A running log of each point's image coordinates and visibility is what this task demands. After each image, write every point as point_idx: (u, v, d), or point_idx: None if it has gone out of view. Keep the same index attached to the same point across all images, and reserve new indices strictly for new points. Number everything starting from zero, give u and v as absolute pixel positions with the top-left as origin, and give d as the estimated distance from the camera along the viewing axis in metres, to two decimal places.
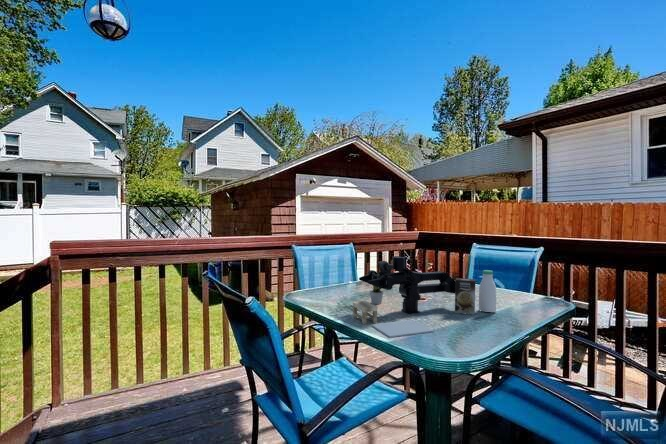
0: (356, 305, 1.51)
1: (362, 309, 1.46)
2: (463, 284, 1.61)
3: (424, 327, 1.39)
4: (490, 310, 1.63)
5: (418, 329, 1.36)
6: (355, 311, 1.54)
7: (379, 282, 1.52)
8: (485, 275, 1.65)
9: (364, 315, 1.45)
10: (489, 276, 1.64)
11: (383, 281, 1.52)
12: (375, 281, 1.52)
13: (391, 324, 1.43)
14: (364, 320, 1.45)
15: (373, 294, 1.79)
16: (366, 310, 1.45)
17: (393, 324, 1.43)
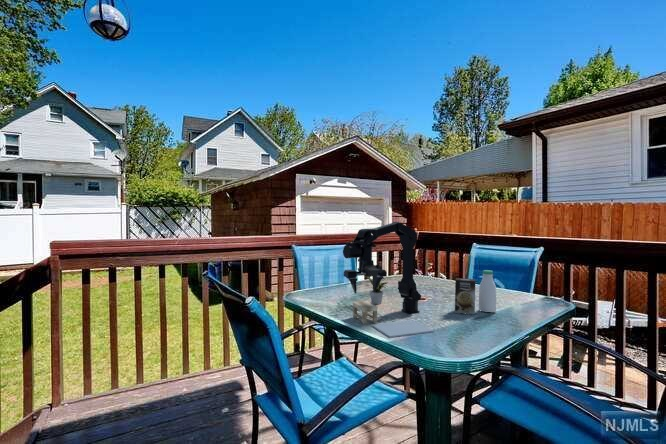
0: (356, 305, 1.51)
1: (362, 309, 1.46)
2: (463, 284, 1.61)
3: (424, 327, 1.39)
4: (490, 310, 1.63)
5: (418, 329, 1.36)
6: (355, 311, 1.54)
7: None
8: (485, 275, 1.65)
9: (364, 315, 1.45)
10: (489, 276, 1.64)
11: None
12: None
13: (391, 324, 1.43)
14: (364, 320, 1.45)
15: (373, 294, 1.79)
16: (366, 310, 1.45)
17: (393, 324, 1.43)
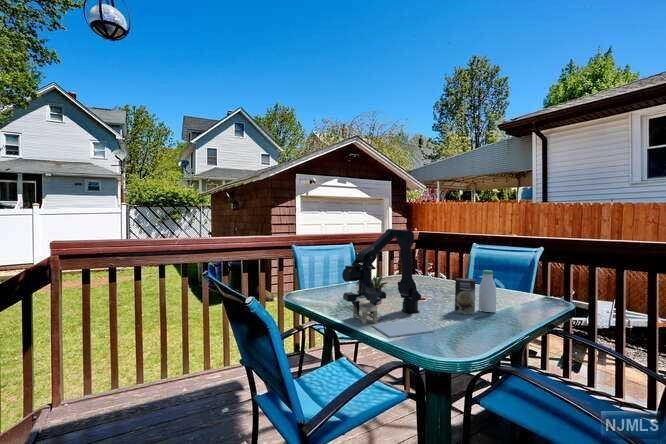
0: None
1: (362, 309, 1.45)
2: (463, 284, 1.61)
3: (424, 327, 1.39)
4: (490, 310, 1.63)
5: (418, 329, 1.36)
6: (355, 311, 1.54)
7: None
8: (485, 275, 1.65)
9: (364, 315, 1.45)
10: (489, 276, 1.64)
11: None
12: None
13: (391, 324, 1.43)
14: (364, 320, 1.45)
15: None
16: (366, 310, 1.45)
17: (393, 324, 1.43)
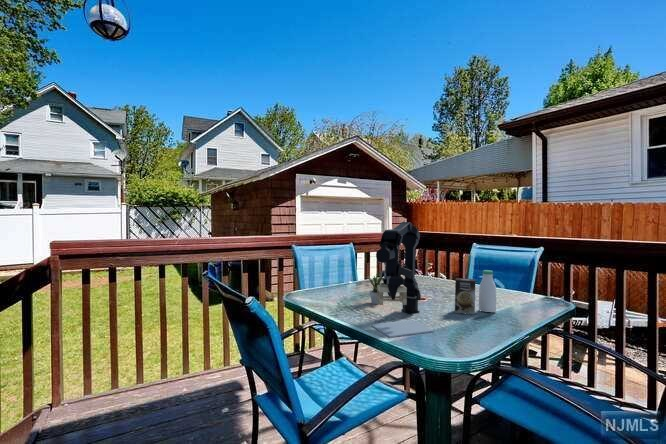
0: None
1: (403, 290, 1.39)
2: (463, 284, 1.61)
3: (424, 327, 1.39)
4: (490, 310, 1.63)
5: (418, 329, 1.36)
6: (382, 297, 1.39)
7: None
8: (485, 275, 1.65)
9: None
10: (489, 276, 1.64)
11: None
12: None
13: (391, 324, 1.43)
14: None
15: (373, 294, 1.79)
16: None
17: (393, 324, 1.43)
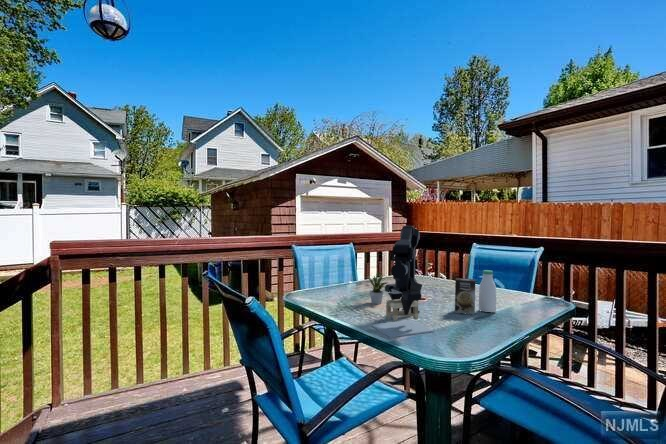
0: None
1: (415, 304, 1.38)
2: (463, 284, 1.61)
3: (424, 327, 1.39)
4: (490, 310, 1.63)
5: (418, 329, 1.36)
6: None
7: None
8: (485, 275, 1.65)
9: None
10: (489, 276, 1.64)
11: None
12: None
13: (391, 324, 1.43)
14: None
15: (373, 294, 1.79)
16: None
17: (393, 324, 1.43)
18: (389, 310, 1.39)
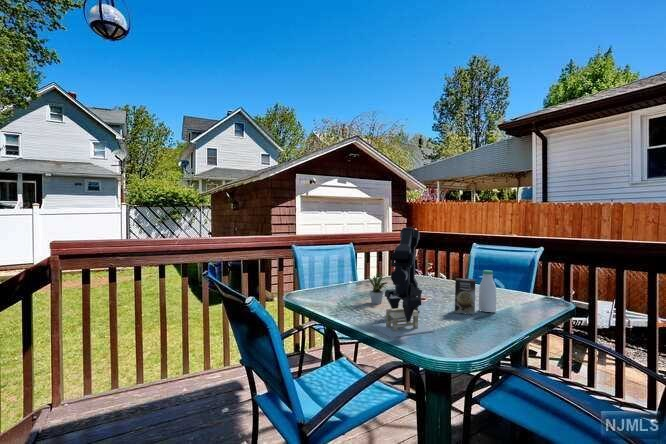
0: (402, 314, 1.35)
1: (415, 313, 1.37)
2: (463, 284, 1.61)
3: (424, 327, 1.39)
4: (490, 310, 1.63)
5: (418, 329, 1.36)
6: None
7: None
8: (485, 275, 1.65)
9: None
10: (489, 276, 1.64)
11: None
12: None
13: (391, 324, 1.43)
14: None
15: (373, 294, 1.79)
16: None
17: None
18: (389, 319, 1.39)
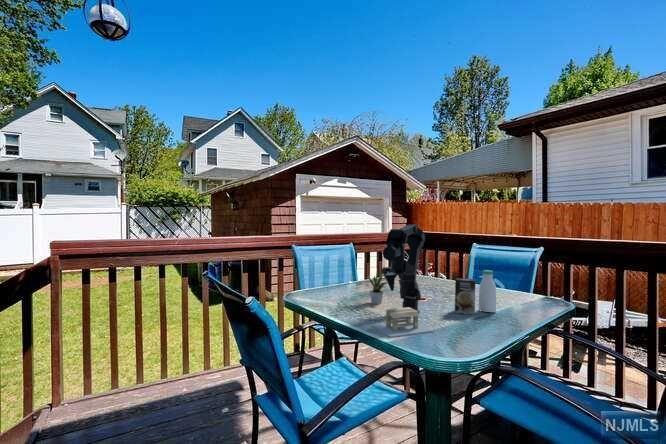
0: (402, 314, 1.35)
1: (415, 313, 1.37)
2: (463, 284, 1.61)
3: (424, 327, 1.39)
4: (490, 310, 1.63)
5: (418, 329, 1.36)
6: None
7: None
8: (485, 275, 1.65)
9: None
10: (489, 276, 1.64)
11: None
12: None
13: (391, 324, 1.43)
14: None
15: (373, 294, 1.79)
16: None
17: None
18: (389, 319, 1.39)
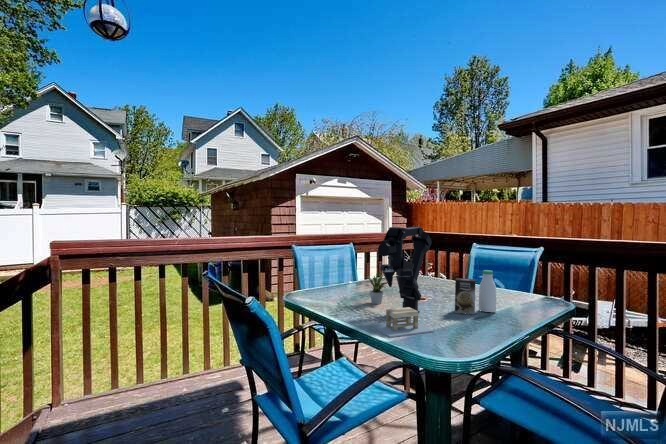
0: (402, 314, 1.35)
1: (415, 313, 1.37)
2: (463, 284, 1.61)
3: (424, 327, 1.39)
4: (490, 310, 1.63)
5: (418, 329, 1.36)
6: None
7: None
8: (485, 275, 1.65)
9: None
10: (489, 276, 1.64)
11: None
12: None
13: (391, 324, 1.43)
14: None
15: (373, 294, 1.79)
16: None
17: None
18: (389, 319, 1.39)
